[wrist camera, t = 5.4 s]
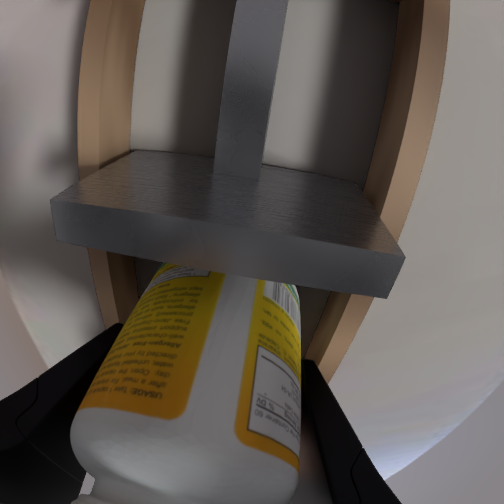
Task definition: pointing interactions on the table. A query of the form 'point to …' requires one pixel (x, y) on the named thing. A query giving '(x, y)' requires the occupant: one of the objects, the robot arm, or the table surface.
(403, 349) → the table surface
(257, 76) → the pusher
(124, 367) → the supplement bottle
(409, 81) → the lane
